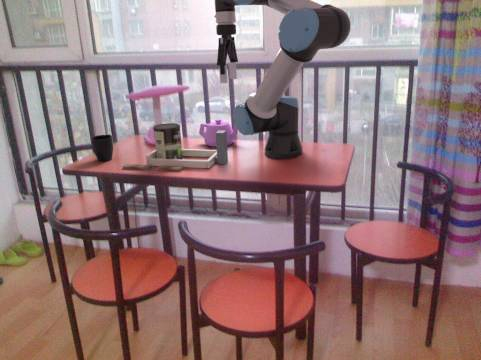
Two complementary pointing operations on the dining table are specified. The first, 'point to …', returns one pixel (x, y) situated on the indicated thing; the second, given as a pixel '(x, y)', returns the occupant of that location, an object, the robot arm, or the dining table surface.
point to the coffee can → (168, 141)
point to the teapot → (213, 128)
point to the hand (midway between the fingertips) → (228, 81)
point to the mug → (103, 147)
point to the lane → (215, 155)
